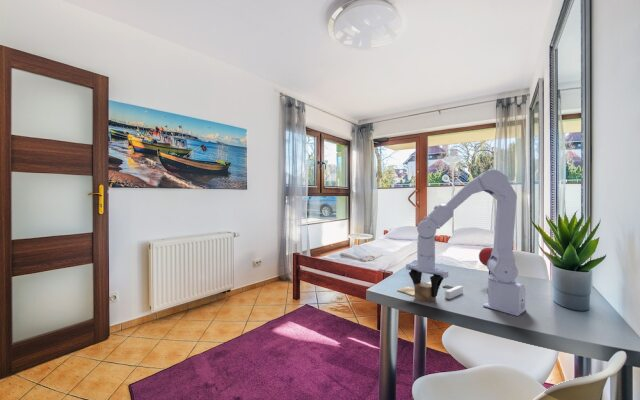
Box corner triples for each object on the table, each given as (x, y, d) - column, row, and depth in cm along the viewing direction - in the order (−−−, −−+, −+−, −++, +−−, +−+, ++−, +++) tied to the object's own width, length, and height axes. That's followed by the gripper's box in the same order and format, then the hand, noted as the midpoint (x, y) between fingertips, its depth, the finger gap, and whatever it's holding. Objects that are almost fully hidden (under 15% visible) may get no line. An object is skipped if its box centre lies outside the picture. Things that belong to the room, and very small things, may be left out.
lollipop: (500, 288, 104) (500, 250, 104) (477, 284, 109) (477, 248, 109) (501, 283, 110) (501, 247, 110) (480, 280, 115) (480, 245, 115)
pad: (424, 292, 100) (424, 291, 100) (413, 296, 95) (413, 295, 95) (408, 287, 105) (408, 286, 105) (397, 290, 101) (397, 289, 101)
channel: (462, 293, 99) (462, 286, 99) (449, 299, 93) (449, 292, 93) (435, 286, 107) (435, 279, 107) (421, 291, 101) (421, 284, 101)
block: (435, 299, 92) (435, 285, 92) (428, 303, 89) (428, 288, 89) (422, 295, 96) (422, 281, 96) (414, 298, 93) (414, 284, 93)
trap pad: (461, 289, 103) (461, 289, 103) (457, 291, 101) (457, 290, 101) (446, 285, 108) (446, 285, 108) (442, 287, 106) (442, 286, 106)
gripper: (452, 256, 90) (452, 297, 90) (413, 250, 101) (413, 286, 101) (442, 259, 86) (442, 302, 86) (402, 252, 97) (402, 290, 97)
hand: (426, 294), depth 93 cm, fingers open, 5 cm apart
